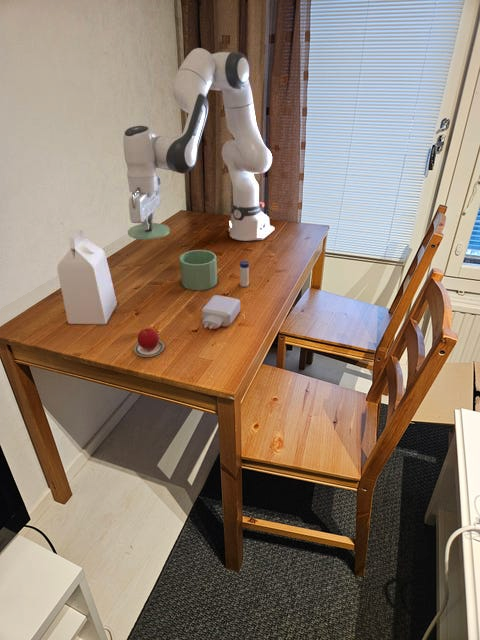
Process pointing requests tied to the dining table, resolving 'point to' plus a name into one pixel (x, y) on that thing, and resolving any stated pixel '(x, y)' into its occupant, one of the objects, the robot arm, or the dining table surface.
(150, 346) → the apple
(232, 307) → the charger
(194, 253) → the tin
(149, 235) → the tin lid
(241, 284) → the glue stick
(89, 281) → the milk
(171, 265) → the dining table surface
